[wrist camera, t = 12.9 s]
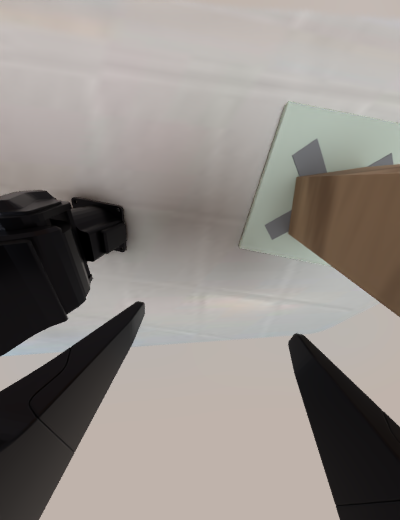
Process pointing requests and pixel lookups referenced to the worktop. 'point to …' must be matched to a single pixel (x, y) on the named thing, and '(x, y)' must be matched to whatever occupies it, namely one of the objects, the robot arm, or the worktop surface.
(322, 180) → the walnut block
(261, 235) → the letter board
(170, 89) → the worktop surface
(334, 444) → the robot arm
